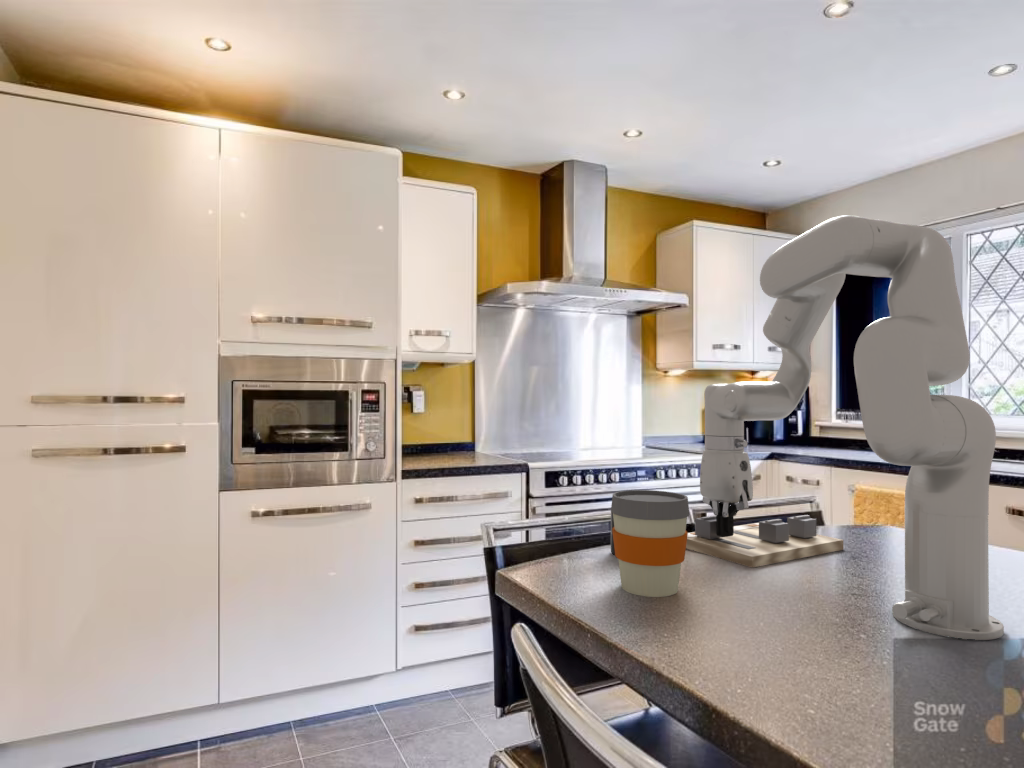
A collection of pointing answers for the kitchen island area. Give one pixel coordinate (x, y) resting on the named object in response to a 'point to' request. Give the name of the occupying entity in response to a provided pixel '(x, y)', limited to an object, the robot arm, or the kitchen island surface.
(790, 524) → the switch tab
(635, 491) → the reusable coffee cup
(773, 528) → the switch tab
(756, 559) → the switch panel
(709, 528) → the switch tab
